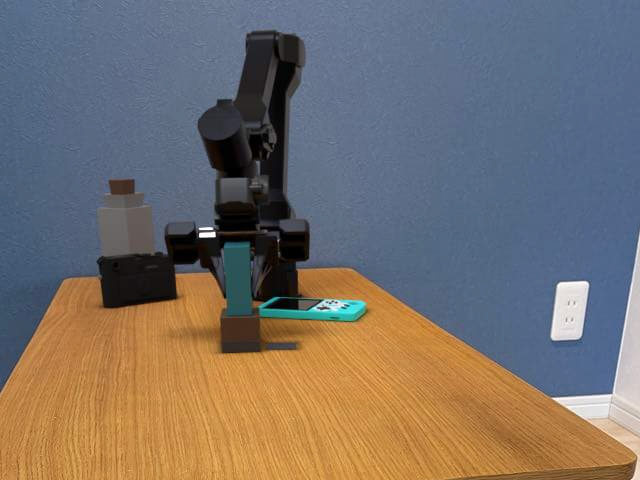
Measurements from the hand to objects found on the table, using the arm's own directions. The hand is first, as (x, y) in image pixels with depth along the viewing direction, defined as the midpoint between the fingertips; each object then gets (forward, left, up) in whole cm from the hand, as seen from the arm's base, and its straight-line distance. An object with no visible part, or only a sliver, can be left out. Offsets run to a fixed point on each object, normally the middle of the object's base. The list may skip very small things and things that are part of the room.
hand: (238, 296), depth 109 cm
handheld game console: (-6, +24, -7) cm, 25 cm away
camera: (-37, +16, -7) cm, 41 cm away
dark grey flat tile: (+3, +4, -7) cm, 9 cm away
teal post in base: (-1, +1, -7) cm, 7 cm away
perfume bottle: (-49, +26, -7) cm, 56 cm away
